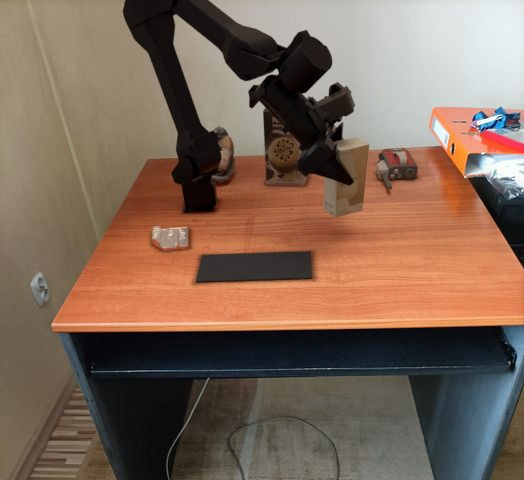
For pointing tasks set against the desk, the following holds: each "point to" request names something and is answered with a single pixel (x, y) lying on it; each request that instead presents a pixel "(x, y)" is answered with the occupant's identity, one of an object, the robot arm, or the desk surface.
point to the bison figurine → (224, 155)
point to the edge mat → (255, 266)
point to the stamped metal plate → (170, 238)
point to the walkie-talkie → (396, 165)
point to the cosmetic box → (355, 161)
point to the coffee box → (280, 154)
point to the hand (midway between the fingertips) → (353, 175)
